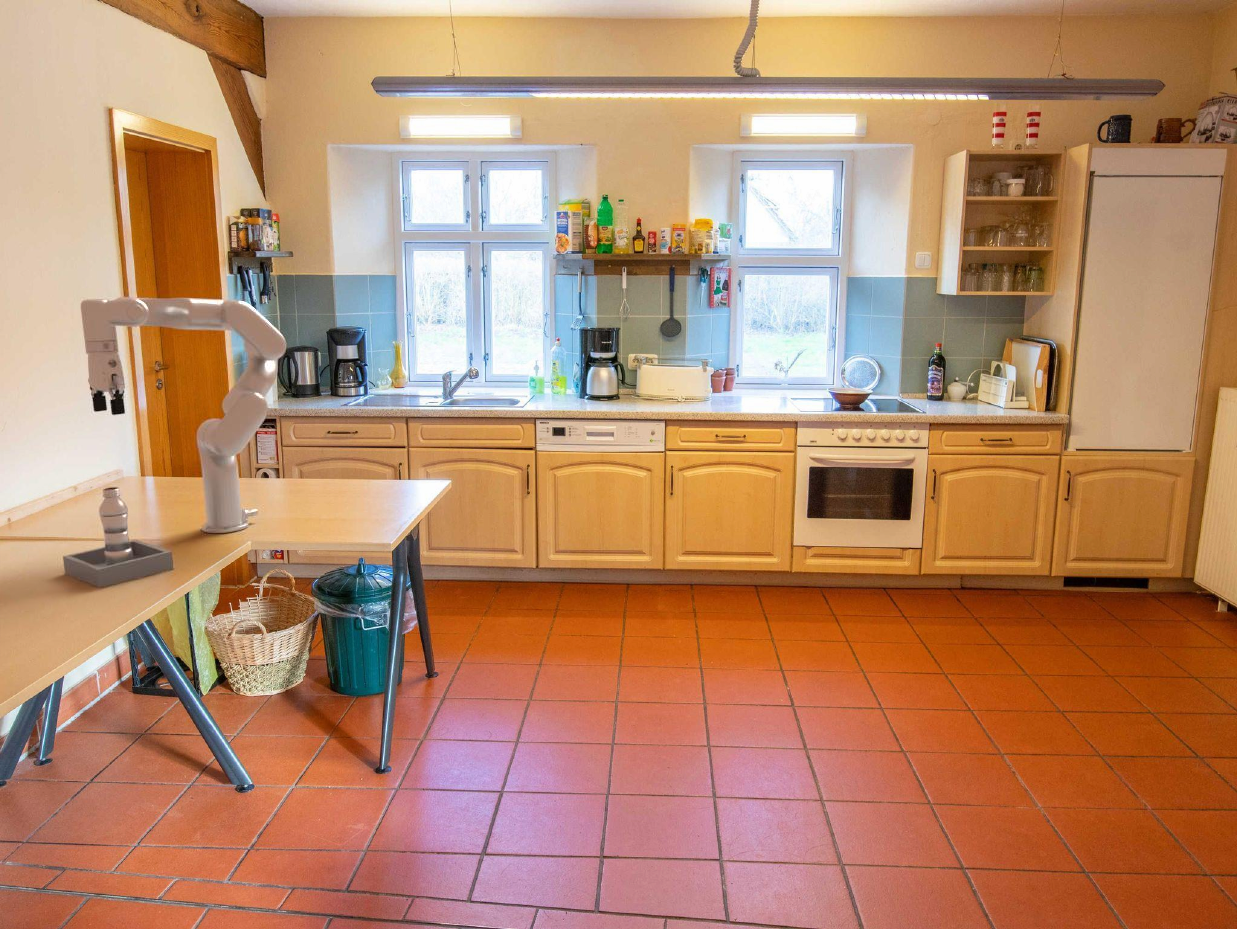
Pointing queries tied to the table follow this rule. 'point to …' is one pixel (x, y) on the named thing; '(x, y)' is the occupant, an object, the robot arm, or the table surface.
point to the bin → (117, 565)
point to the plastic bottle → (115, 527)
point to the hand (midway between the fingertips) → (109, 412)
